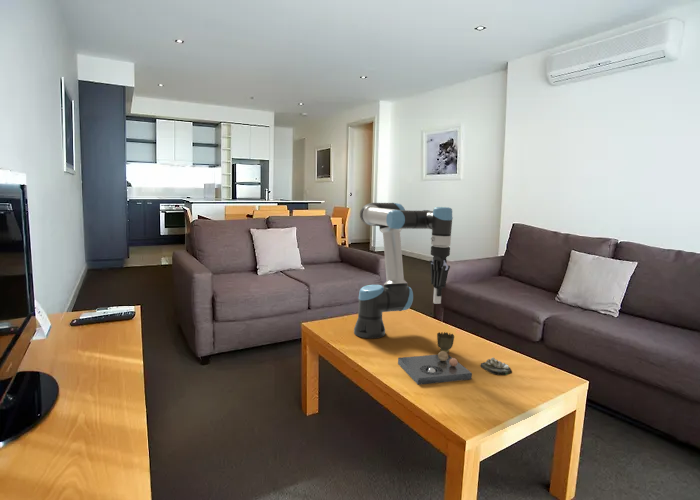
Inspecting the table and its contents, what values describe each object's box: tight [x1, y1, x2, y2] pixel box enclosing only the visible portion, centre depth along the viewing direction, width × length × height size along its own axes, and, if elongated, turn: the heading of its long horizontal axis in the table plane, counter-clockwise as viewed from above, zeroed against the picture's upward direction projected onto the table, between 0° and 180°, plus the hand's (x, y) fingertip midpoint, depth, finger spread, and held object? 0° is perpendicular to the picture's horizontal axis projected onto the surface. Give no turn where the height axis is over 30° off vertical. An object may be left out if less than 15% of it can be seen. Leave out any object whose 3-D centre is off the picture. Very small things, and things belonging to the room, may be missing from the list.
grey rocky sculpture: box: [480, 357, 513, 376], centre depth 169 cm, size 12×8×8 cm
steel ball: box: [427, 368, 436, 373], centre depth 160 cm, size 3×3×3 cm
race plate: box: [397, 354, 473, 386], centre depth 165 cm, size 19×22×2 cm
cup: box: [436, 331, 455, 354], centre depth 184 cm, size 8×7×8 cm
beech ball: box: [437, 351, 449, 361], centre depth 168 cm, size 4×4×4 cm
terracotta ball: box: [449, 357, 459, 367], centre depth 164 cm, size 3×3×3 cm
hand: (436, 303), depth 172 cm, fingers closed
